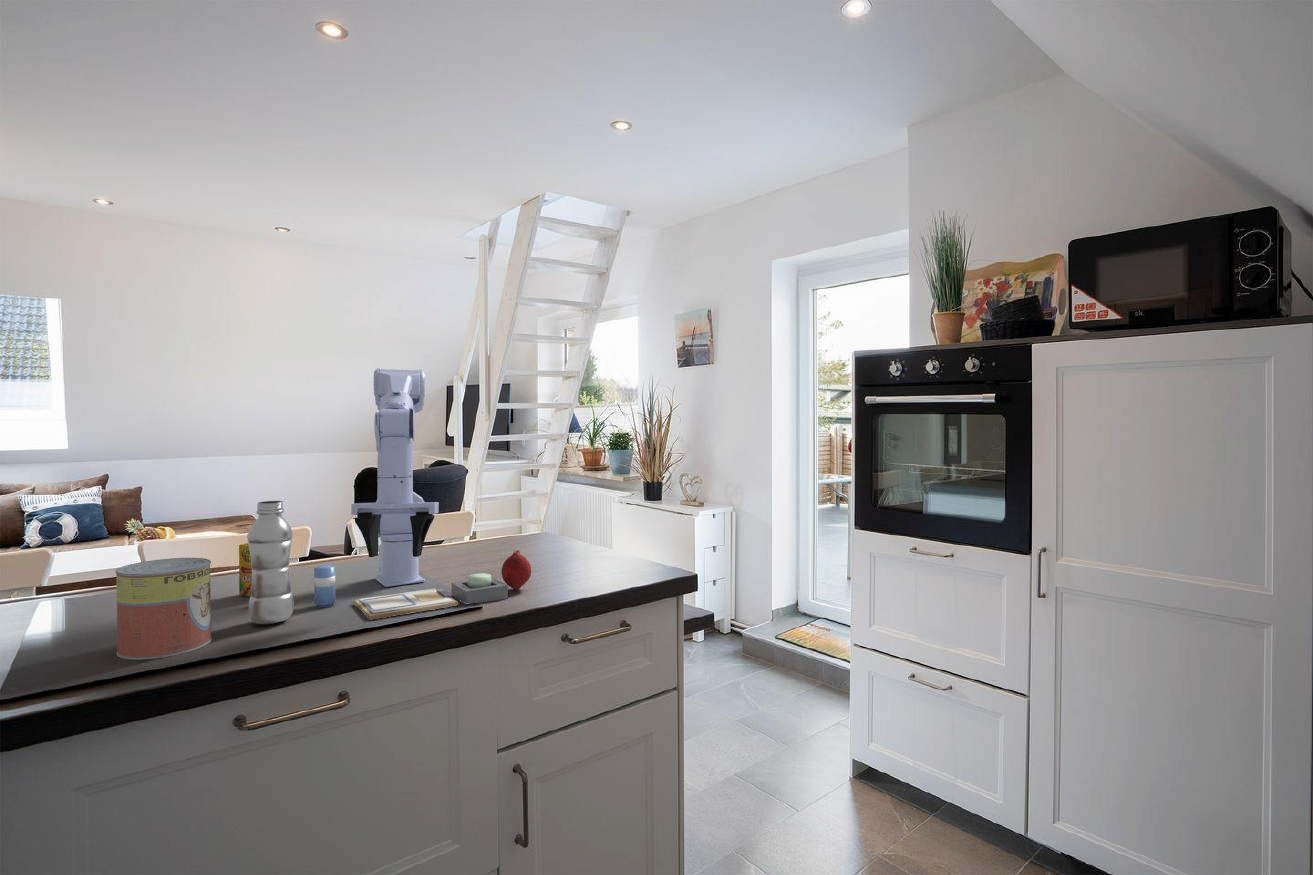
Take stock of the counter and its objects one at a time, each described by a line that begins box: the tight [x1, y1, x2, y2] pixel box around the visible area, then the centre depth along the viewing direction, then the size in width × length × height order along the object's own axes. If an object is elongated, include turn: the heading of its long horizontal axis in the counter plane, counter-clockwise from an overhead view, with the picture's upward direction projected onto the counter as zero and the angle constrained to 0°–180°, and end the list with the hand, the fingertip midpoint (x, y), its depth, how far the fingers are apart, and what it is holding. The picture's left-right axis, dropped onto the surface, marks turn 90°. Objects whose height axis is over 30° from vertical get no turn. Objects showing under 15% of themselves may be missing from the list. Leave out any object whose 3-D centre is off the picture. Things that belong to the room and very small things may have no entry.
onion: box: [500, 549, 532, 591], centre depth 132 cm, size 6×6×8 cm
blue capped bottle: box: [313, 564, 336, 609], centre depth 120 cm, size 3×3×7 cm
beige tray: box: [353, 587, 459, 621], centre depth 120 cm, size 12×15×1 cm
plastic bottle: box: [246, 500, 295, 625], centre depth 109 cm, size 6×7×20 cm
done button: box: [466, 572, 492, 589], centre depth 126 cm, size 4×4×2 cm
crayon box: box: [238, 542, 252, 598], centre depth 126 cm, size 7×3×12 cm, turn 68°
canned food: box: [115, 557, 213, 661], centre depth 98 cm, size 11×11×12 cm
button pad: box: [450, 576, 509, 604], centre depth 126 cm, size 8×8×2 cm
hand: (395, 556), depth 115 cm, fingers open, 7 cm apart
